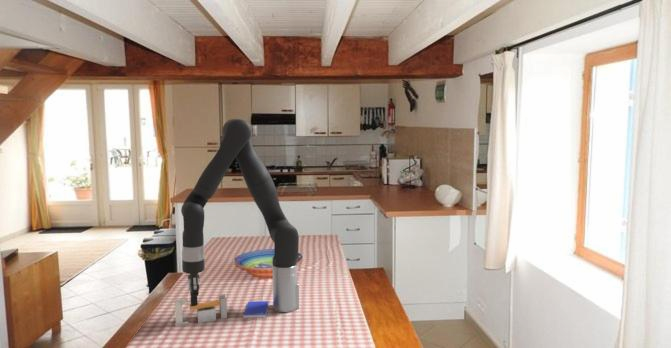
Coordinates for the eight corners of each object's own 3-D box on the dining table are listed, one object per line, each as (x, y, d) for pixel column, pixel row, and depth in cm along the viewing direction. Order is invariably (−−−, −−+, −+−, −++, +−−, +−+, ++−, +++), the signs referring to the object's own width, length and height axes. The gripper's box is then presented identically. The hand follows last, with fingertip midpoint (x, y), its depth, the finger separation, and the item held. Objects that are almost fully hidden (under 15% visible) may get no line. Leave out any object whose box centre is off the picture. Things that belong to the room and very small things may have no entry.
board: (225, 309, 179) (224, 289, 178) (231, 326, 165) (231, 304, 164) (173, 317, 172) (172, 296, 171) (175, 335, 158) (174, 312, 157)
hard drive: (265, 314, 172) (268, 301, 184) (243, 314, 172) (247, 301, 184) (265, 318, 172) (269, 304, 185) (243, 319, 172) (248, 305, 184)
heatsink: (213, 313, 173) (213, 302, 172) (216, 320, 167) (215, 309, 166) (197, 316, 170) (196, 305, 170) (198, 323, 165) (198, 312, 164)
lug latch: (188, 318, 168) (187, 297, 167) (189, 323, 165) (188, 301, 164) (175, 320, 167) (174, 299, 166) (176, 325, 163) (175, 303, 162)
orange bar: (225, 303, 172) (224, 298, 171) (226, 305, 170) (225, 300, 169) (189, 308, 167) (189, 303, 167) (190, 310, 165) (189, 306, 165)
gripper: (206, 262, 160) (207, 311, 162) (202, 251, 172) (203, 297, 174) (183, 264, 157) (184, 314, 159) (180, 253, 169) (181, 299, 171)
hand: (194, 305), depth 167 cm, fingers closed
